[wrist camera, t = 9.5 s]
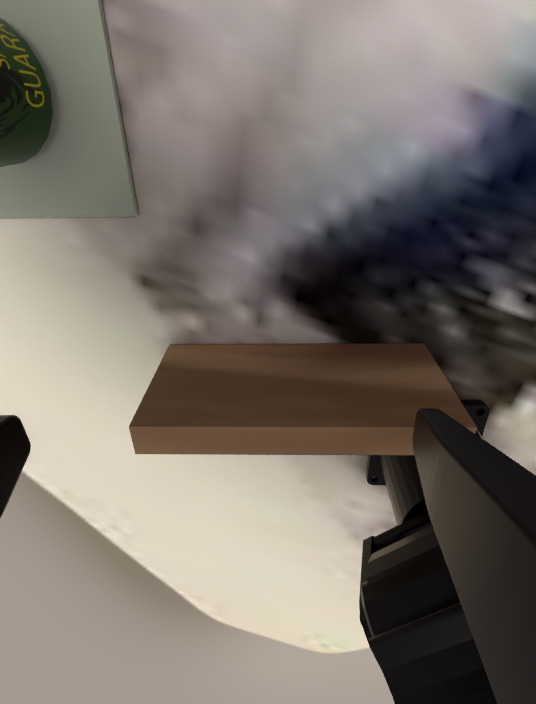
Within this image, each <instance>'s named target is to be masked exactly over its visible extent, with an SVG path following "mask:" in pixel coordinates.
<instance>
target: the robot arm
mask: <svg viewBox="0 0 536 704" xmlns="http://www.w3.org/2000/svg"><path fill="white" fill-rule="evenodd" d="M461 403H462V404H463V406H464V407H465V409H466V410H467V412H468V414H469V415H470V417H471V418H472V420H473V422H474V423H475V425H476V426H477V430H476V433H475V434H474V433H473V432H472V431H470V430H469V429H467V428H466V427H464V426H463V425H461V424H460V423H458V422H457V421H456V420H454V419H453V418H451V417H450V416H448V415H447V414H445V413H444V412H443V411H441V410H439V409H437V408H421V409H419V410H418V411H417V413H416V418H415V425H414V431H413V438H412V444H413V450H414V455H369V456H368V463H367V471H366V478H367V482H368V483H369V484H371V485H386V486H387V490H388V493H389V497H390V500H391V504H392V507H393V511H394V514H395V518H396V521H397V526H395V527H393V528H391V529H389V530H387V531H385V532H383V533H381V534H379V535H377V536H375V537H374V536H371V537H369V538H367V539H365V540H363V553H362V569H361V584H360V600H359V603H360V621H361V624H362V626H363V628H364V632H365V635H366V638H367V640H368V643H369V646H370V648H371V650H372V652H373V654H374V656H375V658H376V660H377V662H378V664H379V665H380V668H381V670H382V671H383V674H384V676H385V679H386V681H387V684H388V686H389V689H390V691H391V694H392V696H393V699H394V702H395V704H536V476H535V475H534V474H533V473H531V472H530V471H528V470H527V469H525V468H524V467H522V466H521V465H520V464H519V463H517V462H515V461H514V460H512V459H511V458H509V457H508V456H506V455H505V454H504V453H502V452H501V451H499V450H498V449H496V448H495V447H493V446H492V445H490V444H489V443H488V442H486V441H485V440H483V438H482V435H483V431H484V428H485V425H486V422H487V418H488V415H489V408H488V406H487V405H486V404H485V403H484V402H481V401H461ZM479 409H481V410H480V411H477V410H479ZM30 447H31V445H30V441H29V438H28V436H27V434H26V431H25V429H24V427H23V424H22V422H21V420H20V419H19V418H18V417H17V416H15V415H0V518H1V516H2V514H3V512H4V510H5V508H6V506H7V503H8V501H9V499H10V496H11V494H12V492H13V490H14V488H15V485H16V483H17V481H18V478H19V476H20V474H21V472H22V469H23V467H24V465H25V462H26V460H27V458H28V456H29V453H30ZM372 477H375V478H372Z"/></svg>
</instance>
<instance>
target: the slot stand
mask: <svg viewBox="0 0 536 704" xmlns="http://www.w3.org/2000/svg"><path fill="white" fill-rule="evenodd" d="M421 408H437V409H439V410H441V411H443V412H444V413H445V414H447V415H448V416H450V417H451V418H453V419H454V420H456V421H457V422H458V423H460V424H461V425H463V426H464V427H466V428H467V429H469V430H470V431H472V432H473V433H474V434H475V433H476V430H477V426H476V425H475V423H474V422H473V420H472V418H471V417H470V415H469V414H468V412H467V410H466V409H465V407H464V406H463V404H462V403H461V401H460V399H459V398H458V396H457V395H456V393H455V391H454V390H453V388H452V387H451V385H450V384H449V382H448V380H447V379H446V377H445V376H444V374H443V372H442V371H441V369H440V368H439V366H438V365H437V363H436V361H435V360H434V358H433V357H432V355H431V353H430V352H429V350H428V349H427V347H426V346H425V344H424V343H390V344H195V345H169V347H168V349H167V351H166V353H165V355H164V357H163V359H162V361H161V363H160V365H159V367H158V369H157V371H156V373H155V375H154V377H153V379H152V381H151V383H150V385H149V387H148V389H147V391H146V393H145V395H144V397H143V399H142V401H141V403H140V405H139V407H138V409H137V411H136V413H135V415H134V417H133V419H132V421H131V424H130V426H129V429H130V433H131V437H132V441H133V445H134V450H135V454H249V455H414V450H413V444H412V438H413V431H414V425H415V418H416V413H417V411H418V410H419V409H421Z"/></svg>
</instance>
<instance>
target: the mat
mask: <svg viewBox="0 0 536 704" xmlns="http://www.w3.org/2000/svg"><path fill="white" fill-rule="evenodd" d="M0 18H1V19H2V20H4V21H6V22H7V23H8V24H9V25H10V26H11V27H12V28H13V29H14V30H15V31H16V32H17V33H18V34H19V35H20V36H21V37H22V38H23V39H24V40H25V41H26V42H27V44H28V45H29V47H30V48H31V50H32V52H33V53H34V55H35V56H36V58H37V59H38V61H39V62H40V64H41V66H42V67H43V69H44V71H45V74H46V77H47V80H48V83H49V85H50V88H51V91H52V99H53V110H54V114H53V119H52V124H51V129H50V133H49V137H48V138H47V140H46V141H45V143H44V144H43V146H42V148H41V149H40V151H39V152H38V153H37V154H36V155H34V156H33V157H31V158H30V159H28V160H27V161H25V162H24V163H20V164H14V165H9V166H4V167H0V219H21V218H81V217H136V216H137V215H138V210H137V204H136V198H135V193H134V187H133V181H132V175H131V169H130V163H129V158H128V152H127V146H126V140H125V134H124V128H123V123H122V117H121V111H120V105H119V99H118V94H117V88H116V82H115V76H114V70H113V64H112V59H111V53H110V47H109V41H108V35H107V29H106V24H105V18H104V12H103V6H102V0H0Z"/></svg>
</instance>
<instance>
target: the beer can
mask: <svg viewBox="0 0 536 704" xmlns="http://www.w3.org/2000/svg"><path fill="white" fill-rule="evenodd" d="M53 114H54V110H53V99H52V91H51V88H50V85H49V83H48V80H47V77H46V74H45V71H44V69H43V67H42V66H41V64H40V62H39V61H38V59H37V58H36V56H35V55H34V53H33V52H32V50H31V48H30V47H29V45H28V44H27V42H26V41H25V40H24V39H23V38H22V37H21V36H20V35H19V34H18V33H17V32H16V31H15V30H14V29H13V28H12V27H11V26H10V25H9V24H8V23H7V22H6V21H4V20H2V19H1V18H0V167H4V166H9V165H14V164H20V163H24V162H25V161H27V160H28V159H30V158H31V157H33V156H34V155H36V154H37V153H38V152H39V151H40V149H41V148H42V146H43V144H44V143H45V141H46V140H47V138H48V137H49V133H50V129H51V124H52V119H53Z"/></svg>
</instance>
